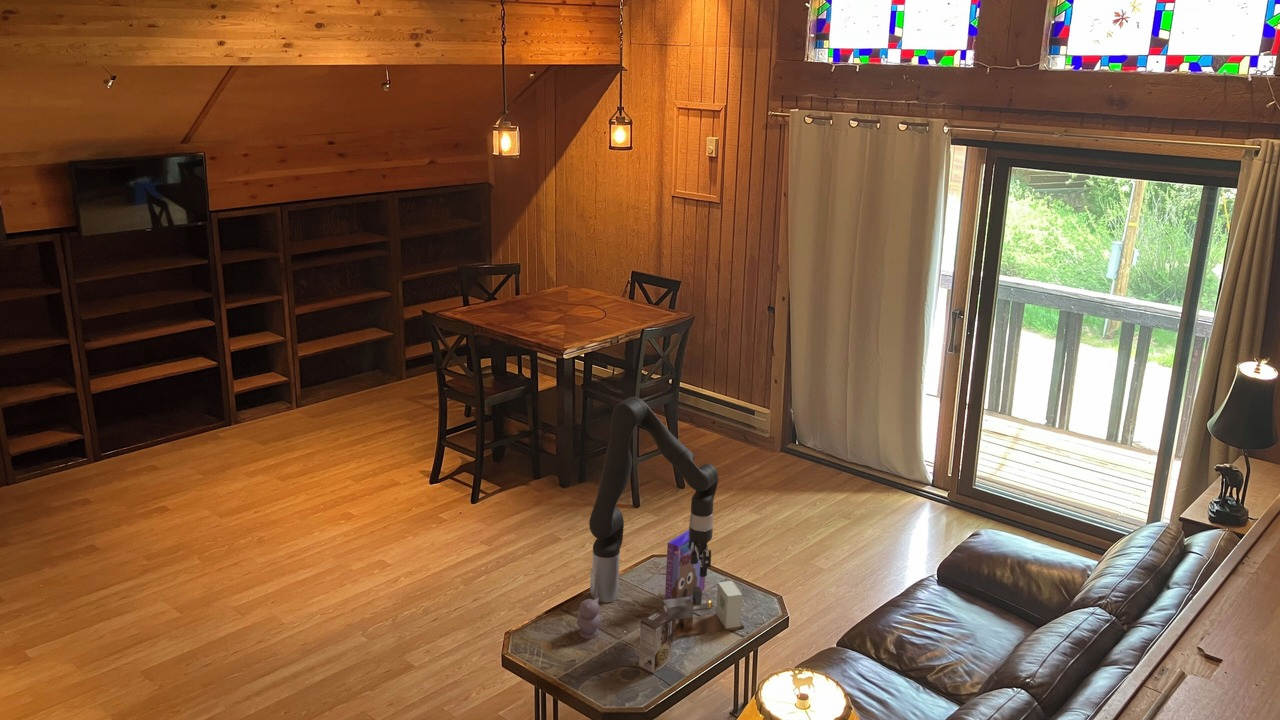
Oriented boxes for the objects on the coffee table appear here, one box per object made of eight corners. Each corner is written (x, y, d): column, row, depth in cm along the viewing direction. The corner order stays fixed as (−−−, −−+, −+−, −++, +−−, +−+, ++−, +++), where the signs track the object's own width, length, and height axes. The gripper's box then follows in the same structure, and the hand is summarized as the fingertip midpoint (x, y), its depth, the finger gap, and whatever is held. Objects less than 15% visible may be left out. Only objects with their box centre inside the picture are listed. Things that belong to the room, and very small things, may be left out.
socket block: (725, 628, 329) (727, 596, 325) (715, 614, 337) (718, 582, 334) (739, 626, 330) (742, 594, 327) (729, 612, 339) (731, 580, 335)
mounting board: (666, 639, 323) (668, 611, 320) (658, 624, 332) (659, 596, 328) (743, 628, 331) (745, 600, 328) (733, 614, 339) (735, 587, 336)
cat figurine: (586, 623, 331) (587, 591, 327) (606, 630, 327) (607, 598, 323) (571, 635, 324) (572, 603, 320) (591, 643, 320) (592, 610, 316)
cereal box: (675, 609, 341) (679, 546, 334) (664, 604, 344) (667, 542, 336) (704, 589, 354) (708, 528, 347) (693, 584, 357) (696, 524, 350)
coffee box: (656, 652, 316) (658, 608, 311) (672, 661, 312) (674, 615, 307) (638, 665, 309) (639, 619, 304) (654, 673, 305) (656, 627, 301)
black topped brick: (666, 616, 324) (667, 595, 322) (663, 611, 327) (664, 590, 325) (712, 610, 329) (713, 589, 326) (708, 605, 332) (710, 584, 329)
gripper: (682, 516, 325) (680, 560, 330) (697, 536, 312) (695, 582, 317) (704, 513, 327) (701, 558, 332) (720, 533, 314) (717, 579, 319)
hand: (698, 569), depth 324 cm, fingers open, 8 cm apart
